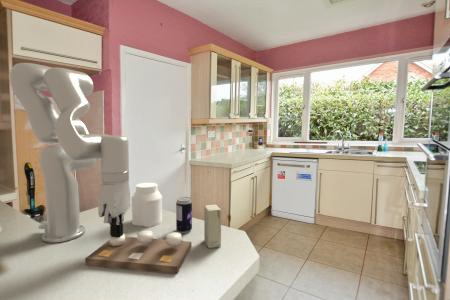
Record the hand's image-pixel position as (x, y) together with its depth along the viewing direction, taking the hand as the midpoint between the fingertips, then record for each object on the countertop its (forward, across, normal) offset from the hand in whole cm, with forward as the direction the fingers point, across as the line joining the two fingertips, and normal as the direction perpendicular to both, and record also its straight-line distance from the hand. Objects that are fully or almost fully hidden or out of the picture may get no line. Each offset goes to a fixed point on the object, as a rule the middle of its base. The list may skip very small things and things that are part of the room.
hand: (116, 235), depth 75 cm
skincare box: (+5, -9, +28) cm, 30 cm away
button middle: (+1, 0, +9) cm, 9 cm away
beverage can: (+5, -17, +16) cm, 24 cm away
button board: (+4, +2, +9) cm, 10 cm away
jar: (+5, -23, -1) cm, 23 cm away
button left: (+2, 0, 0) cm, 2 cm away
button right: (0, 0, +18) cm, 18 cm away
